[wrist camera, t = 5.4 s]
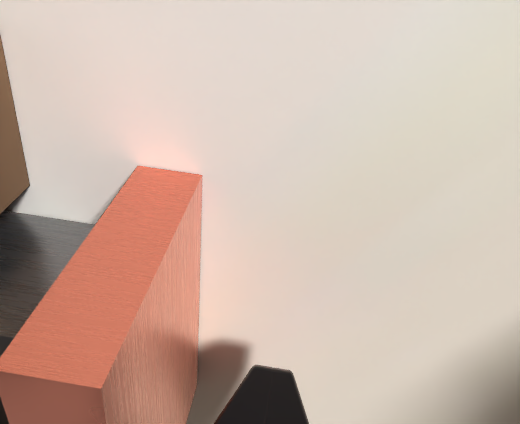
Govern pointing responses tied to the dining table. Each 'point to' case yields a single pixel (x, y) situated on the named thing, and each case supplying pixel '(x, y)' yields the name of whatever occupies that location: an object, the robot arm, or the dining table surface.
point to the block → (9, 144)
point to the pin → (103, 308)
